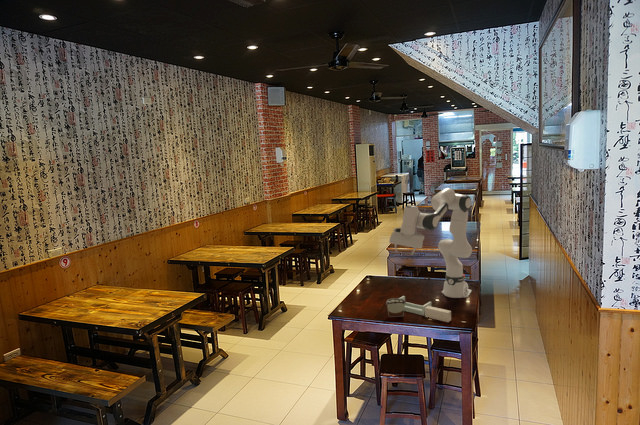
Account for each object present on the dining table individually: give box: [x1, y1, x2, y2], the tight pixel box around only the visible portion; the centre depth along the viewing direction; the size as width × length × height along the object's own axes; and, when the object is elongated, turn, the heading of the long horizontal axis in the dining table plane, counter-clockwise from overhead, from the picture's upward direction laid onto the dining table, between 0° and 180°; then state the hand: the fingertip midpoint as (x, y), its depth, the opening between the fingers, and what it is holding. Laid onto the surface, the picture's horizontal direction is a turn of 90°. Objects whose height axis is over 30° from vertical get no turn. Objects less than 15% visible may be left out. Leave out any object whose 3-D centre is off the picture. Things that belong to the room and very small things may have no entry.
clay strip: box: [424, 305, 452, 323], centre depth 260 cm, size 4×15×6 cm, turn 49°
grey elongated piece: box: [398, 295, 432, 317], centre depth 276 cm, size 10×20×6 cm, turn 49°
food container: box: [385, 297, 407, 318], centre depth 269 cm, size 12×6×10 cm, turn 92°
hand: (404, 253), depth 263 cm, fingers open, 8 cm apart
